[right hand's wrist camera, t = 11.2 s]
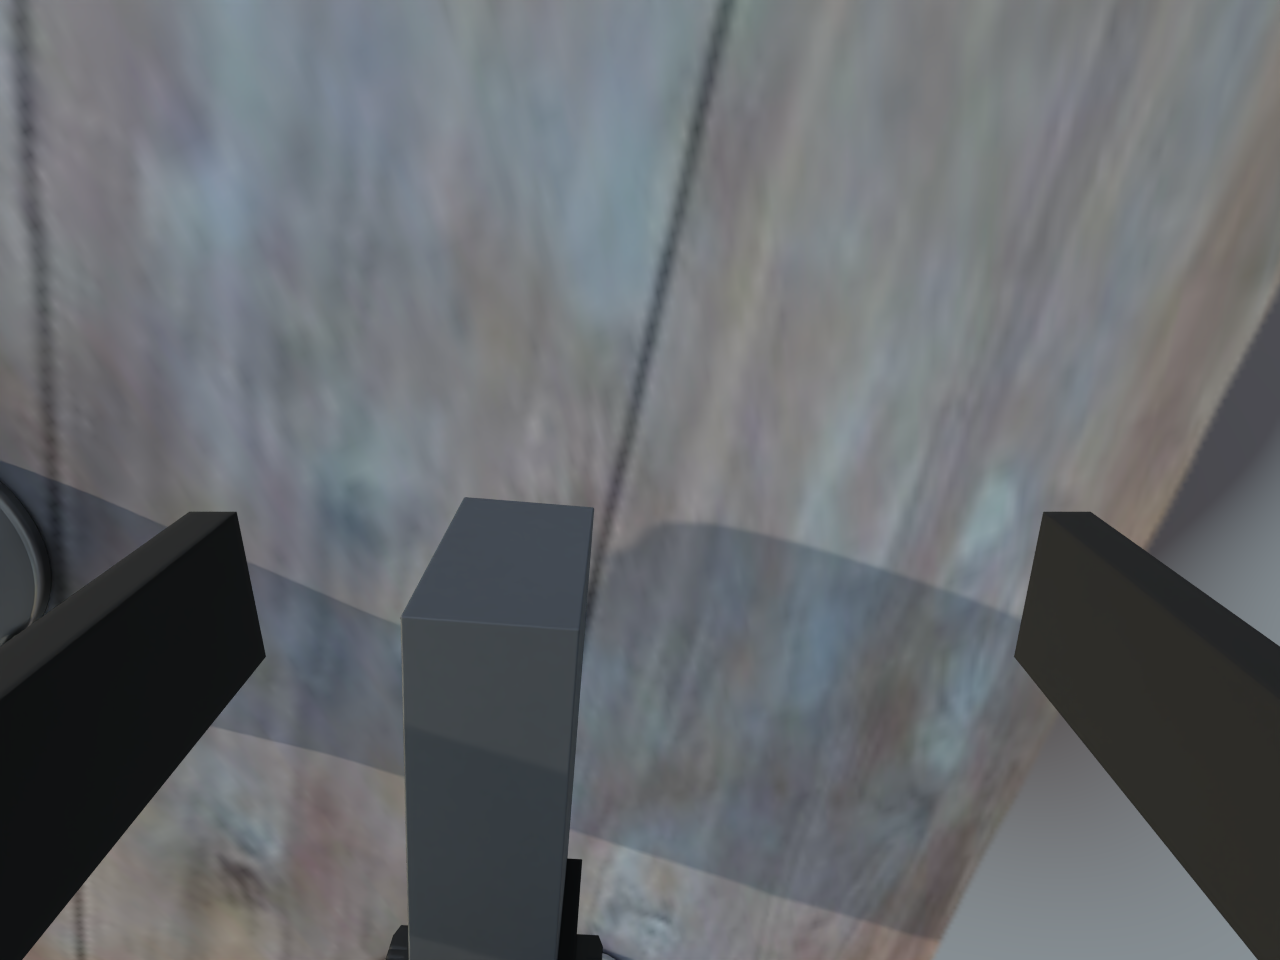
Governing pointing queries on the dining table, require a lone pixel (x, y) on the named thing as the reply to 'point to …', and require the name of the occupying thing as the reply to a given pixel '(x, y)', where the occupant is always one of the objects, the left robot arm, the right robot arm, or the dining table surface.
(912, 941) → the dining table surface
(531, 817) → the bar
